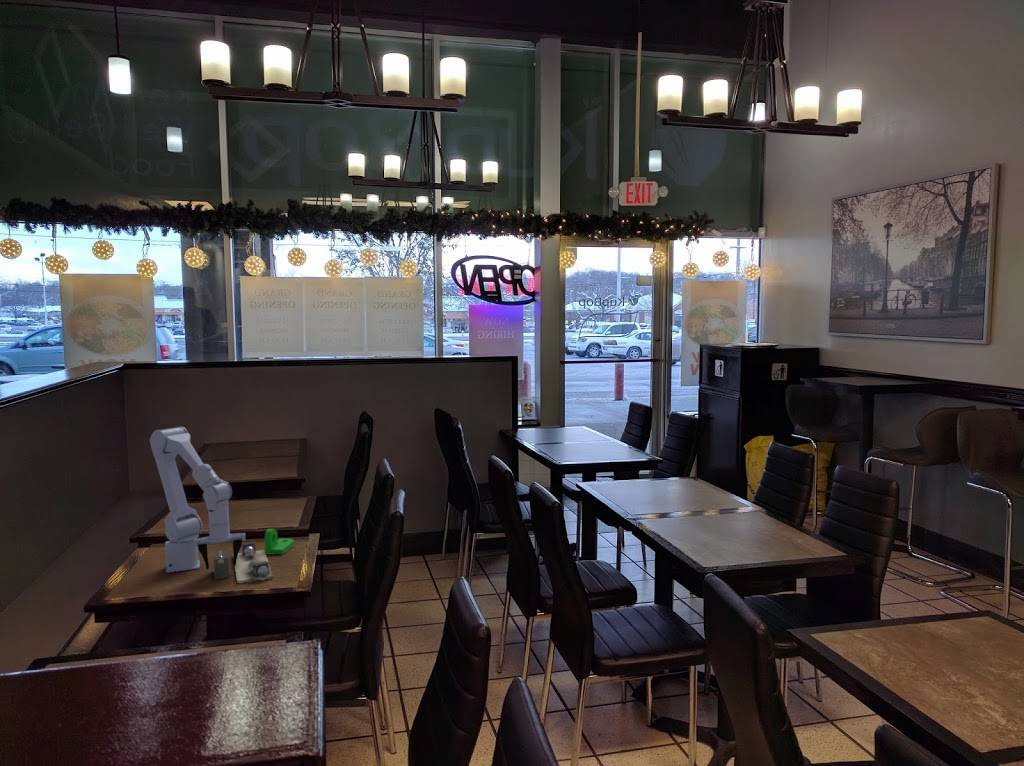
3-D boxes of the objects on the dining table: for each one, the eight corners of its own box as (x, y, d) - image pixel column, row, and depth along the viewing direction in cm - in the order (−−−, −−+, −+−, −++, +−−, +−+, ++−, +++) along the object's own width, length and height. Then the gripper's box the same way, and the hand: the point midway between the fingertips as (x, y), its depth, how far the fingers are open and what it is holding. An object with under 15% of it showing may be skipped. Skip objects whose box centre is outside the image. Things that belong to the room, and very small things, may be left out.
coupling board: (237, 583, 218) (237, 581, 218) (232, 556, 244) (232, 553, 244) (272, 578, 222) (272, 576, 222) (264, 552, 248) (264, 549, 248)
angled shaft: (246, 572, 226) (246, 560, 225) (259, 569, 228) (259, 557, 228) (258, 578, 220) (257, 566, 220) (271, 575, 223) (270, 563, 222)
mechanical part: (282, 555, 245) (281, 531, 244) (265, 555, 245) (264, 531, 245) (296, 544, 257) (295, 521, 256) (279, 544, 257) (279, 521, 256)
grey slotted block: (214, 580, 222) (213, 560, 221) (214, 570, 230) (213, 551, 229) (229, 578, 223) (228, 558, 223) (227, 569, 231) (226, 550, 231)
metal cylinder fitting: (256, 557, 239) (256, 546, 239) (243, 559, 238) (243, 548, 237) (254, 550, 247) (254, 540, 246) (242, 552, 245) (241, 541, 245)
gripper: (193, 528, 219) (195, 573, 220) (245, 522, 224) (247, 566, 225) (193, 522, 225) (195, 566, 226) (243, 517, 231) (245, 559, 232)
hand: (221, 566), depth 226 cm, fingers open, 7 cm apart
